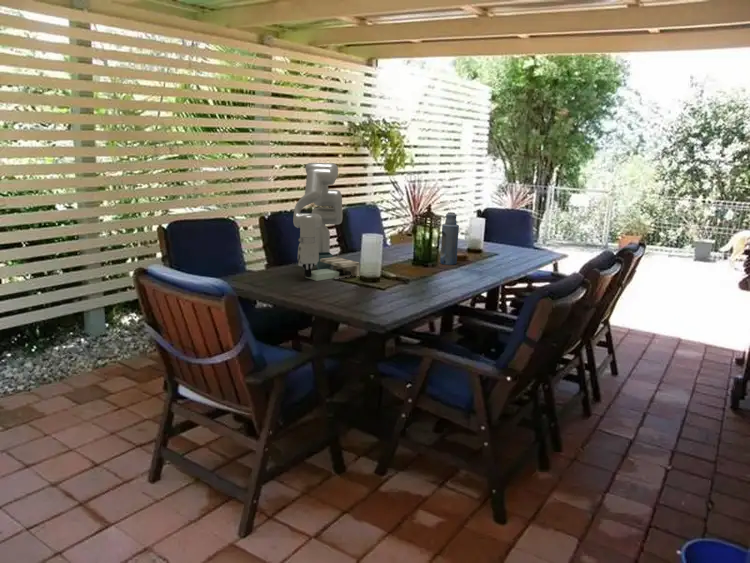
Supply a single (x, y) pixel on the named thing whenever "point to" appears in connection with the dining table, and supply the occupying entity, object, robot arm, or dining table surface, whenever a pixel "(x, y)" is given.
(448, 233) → the bottle
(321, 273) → the pale green flat block
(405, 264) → the dining table surface
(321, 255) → the flower pot
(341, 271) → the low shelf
